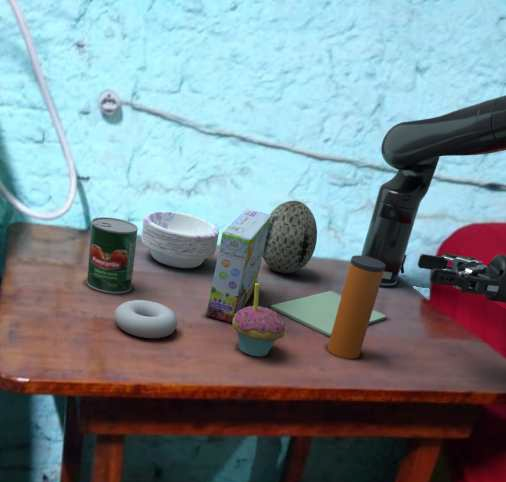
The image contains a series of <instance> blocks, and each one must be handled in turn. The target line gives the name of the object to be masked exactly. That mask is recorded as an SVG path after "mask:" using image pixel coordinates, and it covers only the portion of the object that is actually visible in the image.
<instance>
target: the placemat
mask: <svg viewBox="0 0 506 482" xmlns="http://www.w3.org/2000/svg"><path fill="white" fill-rule="evenodd" d="M341 296H342V294H339V293H337V292H334V291H331V290H328V291H325V292H320V293H316V294H312V295H308V296H304V297H300V298H296V299H295V298H294V299H292V300H286V301H283V302H279V303H275V304H270V307H269V309H272V310H274V311H275V312H276V313H280V314H281V315H283V316H286V317H288V318H289V319H291V320H294V321H296V322H298V323H300V324H302V325H305V326H306V327H308V328H311V329H313V330H315V331H316V332H318V333H321V334H322V335H325V336H327V337H329V338H330V337H331V333H332V329H333V326H334V322H335V318H336V314H337V311H338V307H339V303H340V299H341ZM384 320H387V315H385V314H383V313H381V312H378V311H377V310H374V309H373V310H372V314H371V317H370V321H369V324H368V326H369V325H371V324H372V325H373V324H376V323H377V322H381V321H384Z"/></svg>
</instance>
